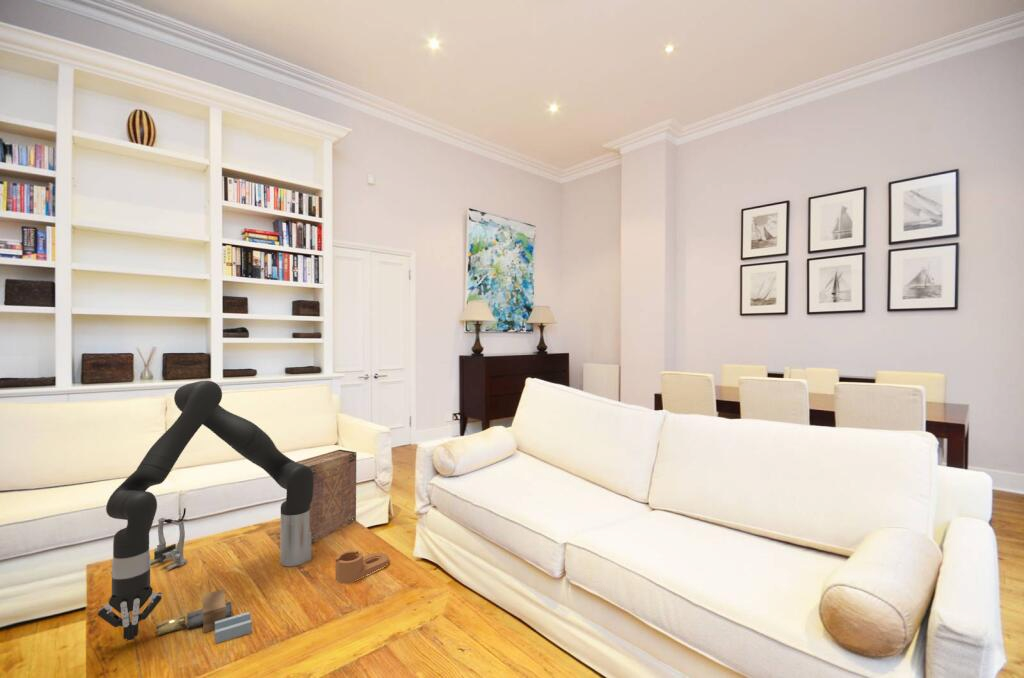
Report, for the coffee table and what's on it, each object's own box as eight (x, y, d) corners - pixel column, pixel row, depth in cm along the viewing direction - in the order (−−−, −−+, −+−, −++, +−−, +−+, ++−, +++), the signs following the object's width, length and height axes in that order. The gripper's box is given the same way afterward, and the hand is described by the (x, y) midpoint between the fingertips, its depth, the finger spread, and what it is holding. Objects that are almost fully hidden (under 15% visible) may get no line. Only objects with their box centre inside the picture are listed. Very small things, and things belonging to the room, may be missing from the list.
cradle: (249, 621, 125) (249, 611, 125) (251, 632, 121) (251, 621, 121) (214, 632, 121) (214, 621, 121) (215, 643, 116) (215, 632, 116)
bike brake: (192, 564, 156) (192, 506, 156) (171, 574, 149) (171, 513, 149) (165, 557, 161) (165, 500, 160) (143, 566, 154) (144, 507, 154)
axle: (230, 612, 130) (230, 598, 130) (231, 619, 127) (231, 605, 127) (187, 624, 124) (187, 610, 124) (187, 632, 121) (187, 617, 121)
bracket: (344, 587, 143) (344, 565, 143) (330, 578, 148) (330, 556, 148) (393, 566, 157) (393, 546, 157) (379, 558, 162) (379, 538, 162)
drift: (185, 628, 124) (185, 616, 125) (184, 626, 121) (185, 614, 123) (156, 636, 120) (157, 623, 122) (156, 634, 118) (156, 621, 120)
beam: (224, 607, 132) (224, 589, 132) (225, 626, 123) (225, 606, 123) (202, 613, 129) (203, 594, 129) (203, 632, 121) (203, 612, 121)
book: (304, 549, 167) (305, 467, 167) (287, 544, 171) (287, 464, 171) (356, 524, 190) (356, 451, 190) (339, 520, 194) (340, 449, 194)
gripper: (165, 557, 123) (164, 621, 123) (99, 570, 116) (98, 639, 116) (163, 569, 117) (162, 637, 117) (93, 584, 109) (92, 657, 109)
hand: (130, 638), depth 116 cm, fingers closed
